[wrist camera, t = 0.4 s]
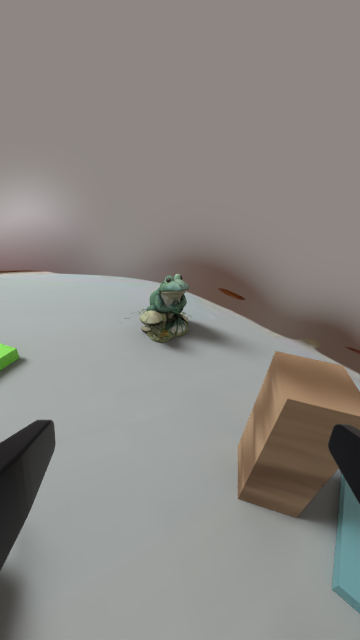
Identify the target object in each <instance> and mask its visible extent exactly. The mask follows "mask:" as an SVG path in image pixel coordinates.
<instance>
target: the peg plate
mask: <svg viewBox="0 0 360 640" xmlns="http://www.w3.org/2000/svg"><path fill="white" fill-rule="evenodd" d="M332 590H333V591H335V592H336V593H337V594H338V595H339V596H340V597H342V598H343V599H344V600H345V601H346V602H347V603H348V604H350V605H351V606H352V607H353V608H354V609H355V610H357V611H358V612H359V613H360V504H359V502H358V501H357V499H356V497H355V496H354V494H353V492H352V490H351V489H350V487H349V485H348V483H347V482H346V480H345V478H344V476H343V474H342V476H341V487H340V499H339V511H338V523H337V535H336V547H335V559H334V571H333V583H332Z"/></svg>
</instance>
